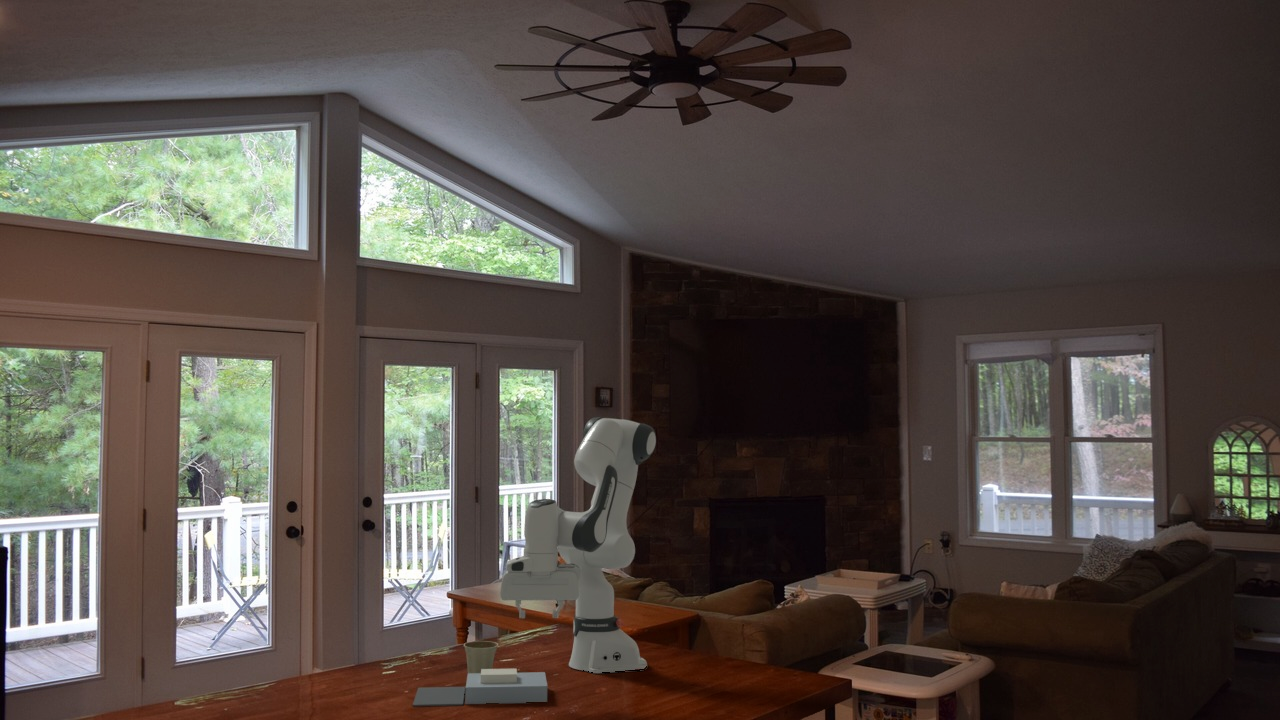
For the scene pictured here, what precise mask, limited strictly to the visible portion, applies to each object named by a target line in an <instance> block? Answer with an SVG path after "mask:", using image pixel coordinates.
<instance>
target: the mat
mask: <svg viewBox="0 0 1280 720" xmlns="http://www.w3.org/2000/svg"><path fill="white" fill-rule="evenodd" d="M465 693H466V686H444V687H443V686H434V687H433V686H430V687H429V686H427V687H425V686H424V687H417V690H416V693H415V697H414V699H413V703H412V707H442V706H443V707H444V706H445V707H446V706H447V707H448V706H450V707H451V706H453V707H454V706H456V707H457V706H464V702H465V701H464V700H465V695H464V694H465Z"/></svg>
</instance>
